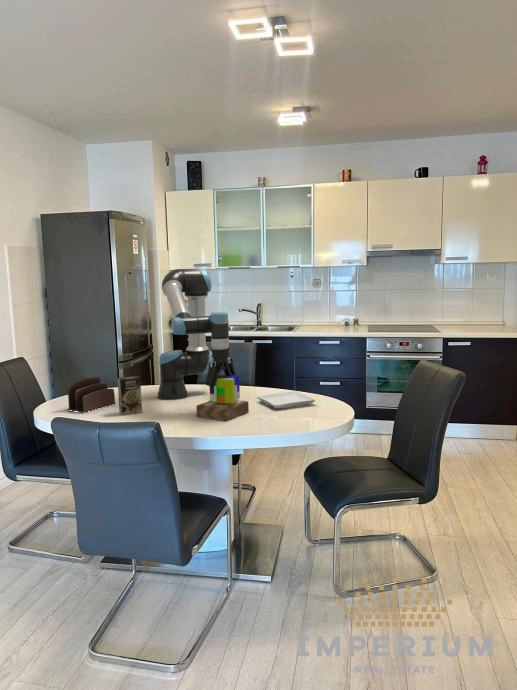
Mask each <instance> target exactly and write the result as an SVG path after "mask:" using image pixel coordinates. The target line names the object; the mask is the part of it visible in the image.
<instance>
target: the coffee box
mask: <svg viewBox="0 0 517 690" xmlns="http://www.w3.org/2000/svg"><path fill="white" fill-rule="evenodd" d="M141 383H142V382H141V377H140V376H137V375H133V376H123V377H117V389H118V390H117V392H118V393H117V395H118V412H119V414H120V415H122V416H128V415H134V414H135V413H136V414H141V413H143V404H142V385H141ZM136 414H135V415H136Z"/></svg>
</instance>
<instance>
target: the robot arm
mask: <svg viewBox="0 0 517 690" xmlns="http://www.w3.org/2000/svg"><path fill="white" fill-rule="evenodd" d="M161 290H162V293H163V295H164V297H166V299H167V302H168V305H169V307H170V311H171V313H172V317H173V318H171V324H170V326H171V332H172V334H173V335H175V336H177V335H180V336H183V335H186V336H187V335H188V346H187V347H186V349H185V352H183V350H181V349H176V350H175V349H174V350H170V351H164V352H162V353H161V354H160V355H159V357H158V358H159V363H158V365H159V377H160V378H159V379H160V383H159V387H158V391H157V398H158V399H160V400H179V399H185V398H186V397H189V396H188V394H189V393H188V390H187V388H186V384H185V382H184V376H190V375H191V376H192V375H203V374H204V375H205V374H207V376H206V382H205V385H206V386H207V387H209V399H210V398H211V401H215V402H216V401H217V394H216V386H215V383H216V381H217V378H218V375H220V373H221V371H223V372H224V374H225V375H228V376H232V375H233V376H237V373H236V370H235V365H234V363H233V362H234V359H233V357H230V348H229V347H230V335H229V334H230V333H229V332H230V331H229V314H228V312H226V311H215V312H213V311H212V312H211V313H210V315H206V298H207V297H208V296H209V295H208V294H209V292H211V291H212V279H211V275H210V273H209V271H208V269H206V268H175V269H173V270H170V271H169V272H168V273H166V275H165V276H164V277H163V279H162V281H161ZM186 299H187V300H186ZM186 301H187V302H186ZM206 334H210V335H211V336H210V337H211V338H210V340H211V341H210V343H211V348H212V349H211V350H210V347H208V346H207V342H206Z"/></svg>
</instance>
